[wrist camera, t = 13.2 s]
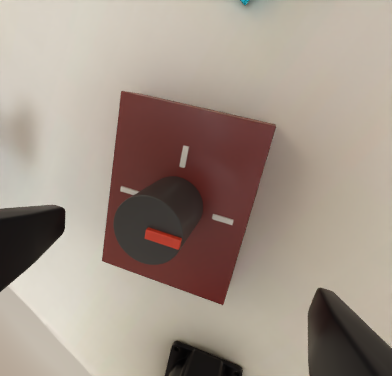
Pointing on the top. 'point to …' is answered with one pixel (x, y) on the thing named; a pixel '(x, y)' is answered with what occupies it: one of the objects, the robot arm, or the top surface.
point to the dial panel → (194, 173)
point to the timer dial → (158, 220)
